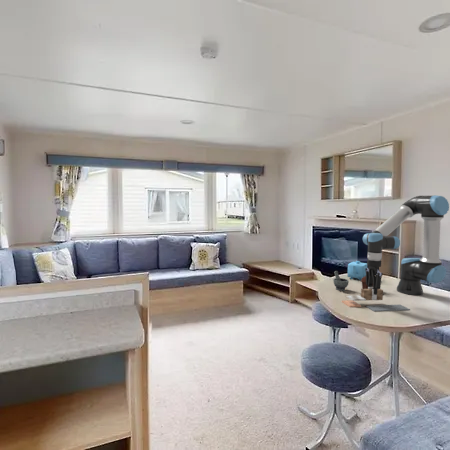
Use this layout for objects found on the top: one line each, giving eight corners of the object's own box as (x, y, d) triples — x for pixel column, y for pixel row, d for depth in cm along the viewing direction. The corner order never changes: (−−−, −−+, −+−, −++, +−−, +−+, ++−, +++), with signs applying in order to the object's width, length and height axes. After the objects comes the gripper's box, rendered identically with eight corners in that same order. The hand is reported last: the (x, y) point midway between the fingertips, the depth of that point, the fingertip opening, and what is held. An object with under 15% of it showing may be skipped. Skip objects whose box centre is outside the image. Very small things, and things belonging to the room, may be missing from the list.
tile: (352, 300, 188) (341, 300, 187) (360, 305, 179) (349, 305, 178) (352, 302, 188) (341, 302, 187) (360, 307, 179) (349, 308, 178)
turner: (377, 297, 189) (377, 287, 188) (384, 301, 182) (385, 291, 182) (346, 297, 186) (347, 288, 186) (352, 301, 179) (353, 291, 179)
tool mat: (400, 305, 183) (400, 304, 183) (410, 310, 175) (410, 309, 175) (365, 306, 179) (365, 305, 179) (373, 311, 171) (374, 310, 171)
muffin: (360, 292, 208) (361, 277, 208) (359, 287, 219) (360, 273, 218) (380, 294, 205) (381, 279, 204) (378, 289, 215) (378, 275, 214)
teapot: (353, 275, 256) (354, 258, 255) (367, 277, 250) (368, 260, 248) (344, 280, 239) (345, 262, 238) (360, 282, 232) (361, 264, 231)
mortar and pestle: (351, 290, 211) (352, 273, 210) (340, 292, 207) (341, 274, 206) (338, 286, 221) (339, 269, 220) (328, 287, 217) (329, 270, 216)
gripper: (360, 257, 190) (358, 294, 192) (377, 262, 174) (374, 303, 176) (371, 256, 191) (369, 294, 193) (389, 262, 175) (386, 302, 177)
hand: (372, 298), depth 185 cm, fingers closed on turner, 3 cm apart
